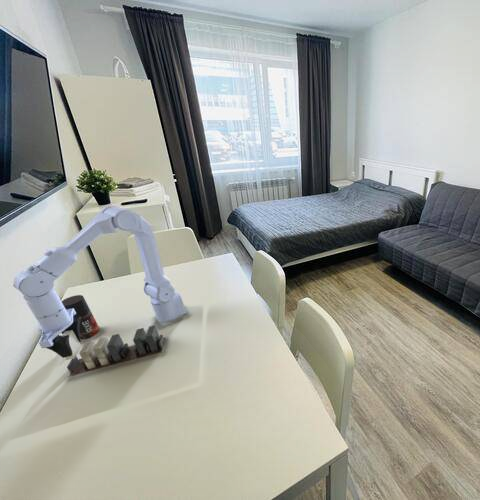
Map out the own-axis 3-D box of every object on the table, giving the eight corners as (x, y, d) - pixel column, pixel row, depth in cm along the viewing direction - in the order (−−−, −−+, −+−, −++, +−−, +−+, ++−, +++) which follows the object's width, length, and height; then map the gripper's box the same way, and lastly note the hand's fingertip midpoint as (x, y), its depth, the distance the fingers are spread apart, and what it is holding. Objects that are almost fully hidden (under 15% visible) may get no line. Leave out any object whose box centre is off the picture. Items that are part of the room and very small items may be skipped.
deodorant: (88, 342, 91) (69, 306, 85) (74, 340, 92) (54, 304, 86) (105, 330, 96) (87, 296, 90) (91, 328, 98) (73, 294, 91)
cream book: (81, 346, 81) (72, 329, 79) (74, 358, 77) (64, 341, 74) (74, 348, 81) (64, 331, 78) (66, 360, 77) (56, 343, 74)
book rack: (166, 339, 92) (159, 322, 88) (162, 354, 86) (155, 336, 83) (80, 361, 84) (69, 343, 81) (70, 379, 78) (58, 360, 75)
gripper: (45, 300, 77) (66, 336, 83) (13, 332, 65) (40, 372, 71) (75, 294, 80) (94, 330, 85) (50, 325, 67) (74, 364, 73)
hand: (72, 348), depth 78 cm, fingers closed on cream book, 5 cm apart
